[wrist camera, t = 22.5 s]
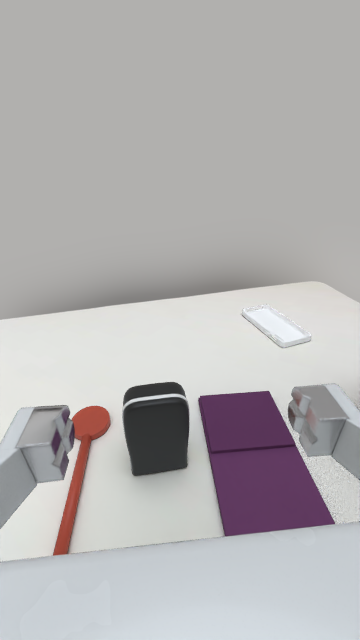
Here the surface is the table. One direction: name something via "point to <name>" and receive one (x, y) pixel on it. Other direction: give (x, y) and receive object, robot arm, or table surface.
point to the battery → (156, 427)
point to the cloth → (258, 466)
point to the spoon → (80, 467)
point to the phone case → (276, 326)
